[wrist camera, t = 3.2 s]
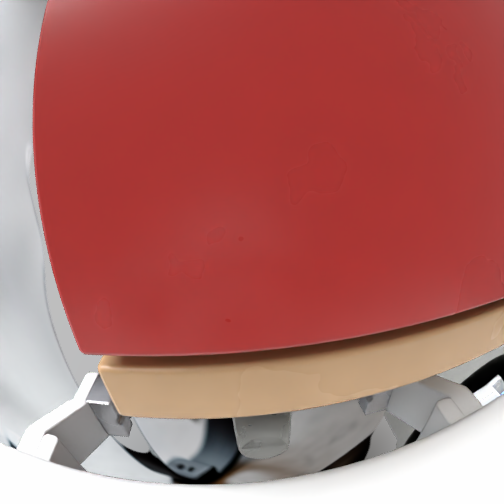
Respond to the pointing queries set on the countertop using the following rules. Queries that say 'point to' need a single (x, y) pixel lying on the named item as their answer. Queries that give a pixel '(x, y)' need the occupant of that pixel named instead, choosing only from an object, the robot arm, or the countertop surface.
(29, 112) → the countertop surface
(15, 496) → the robot arm
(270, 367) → the door
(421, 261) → the cabinet
